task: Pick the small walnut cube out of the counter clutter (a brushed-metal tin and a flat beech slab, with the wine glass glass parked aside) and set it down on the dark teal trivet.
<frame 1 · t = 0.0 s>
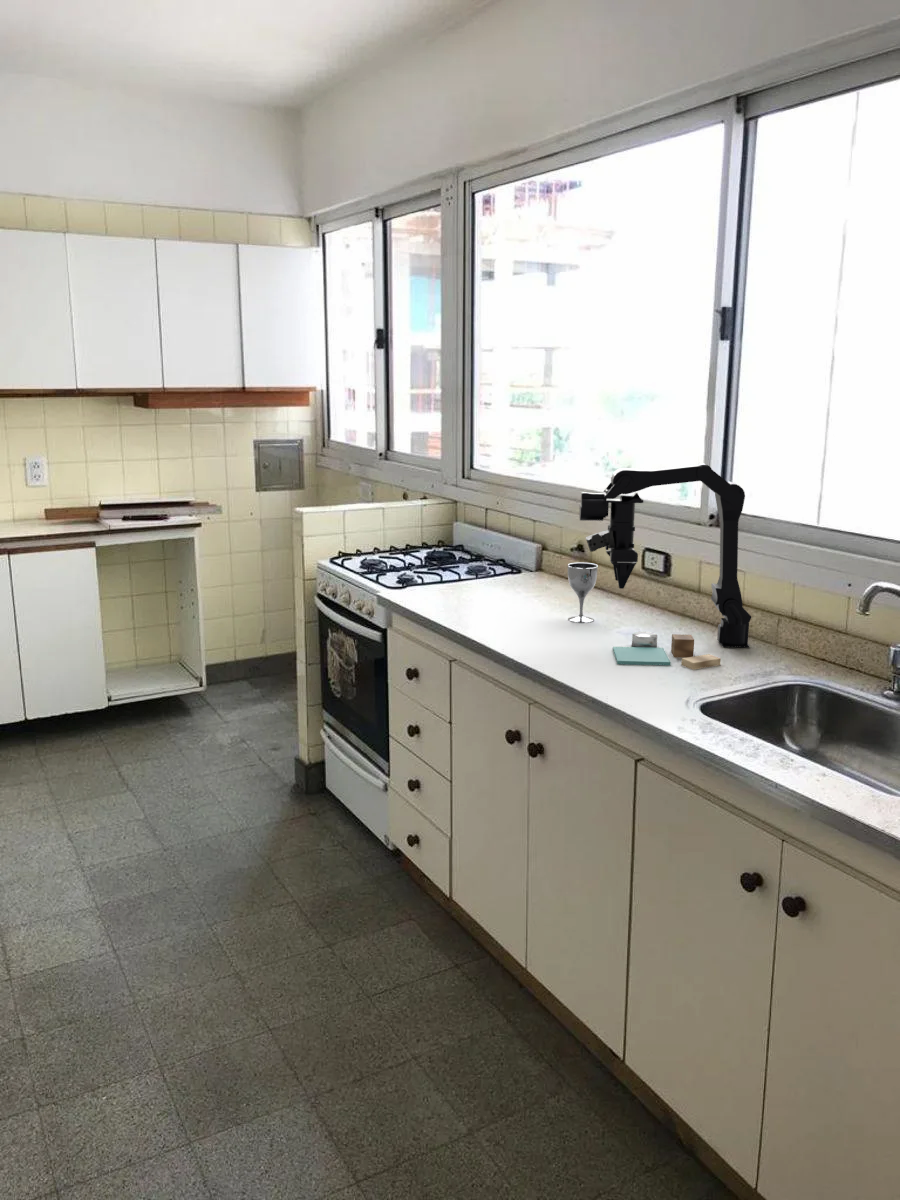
hand: (619, 584, 239), 15 cm above the worktop, fingers open, 9 cm apart
walnut block: (681, 655, 231), on the worktop
beech slab: (700, 666, 223), on the worktop
wine glass: (580, 620, 264), on the worktop
trivet: (640, 657, 229), on the worktop
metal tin: (644, 646, 239), on the worktop
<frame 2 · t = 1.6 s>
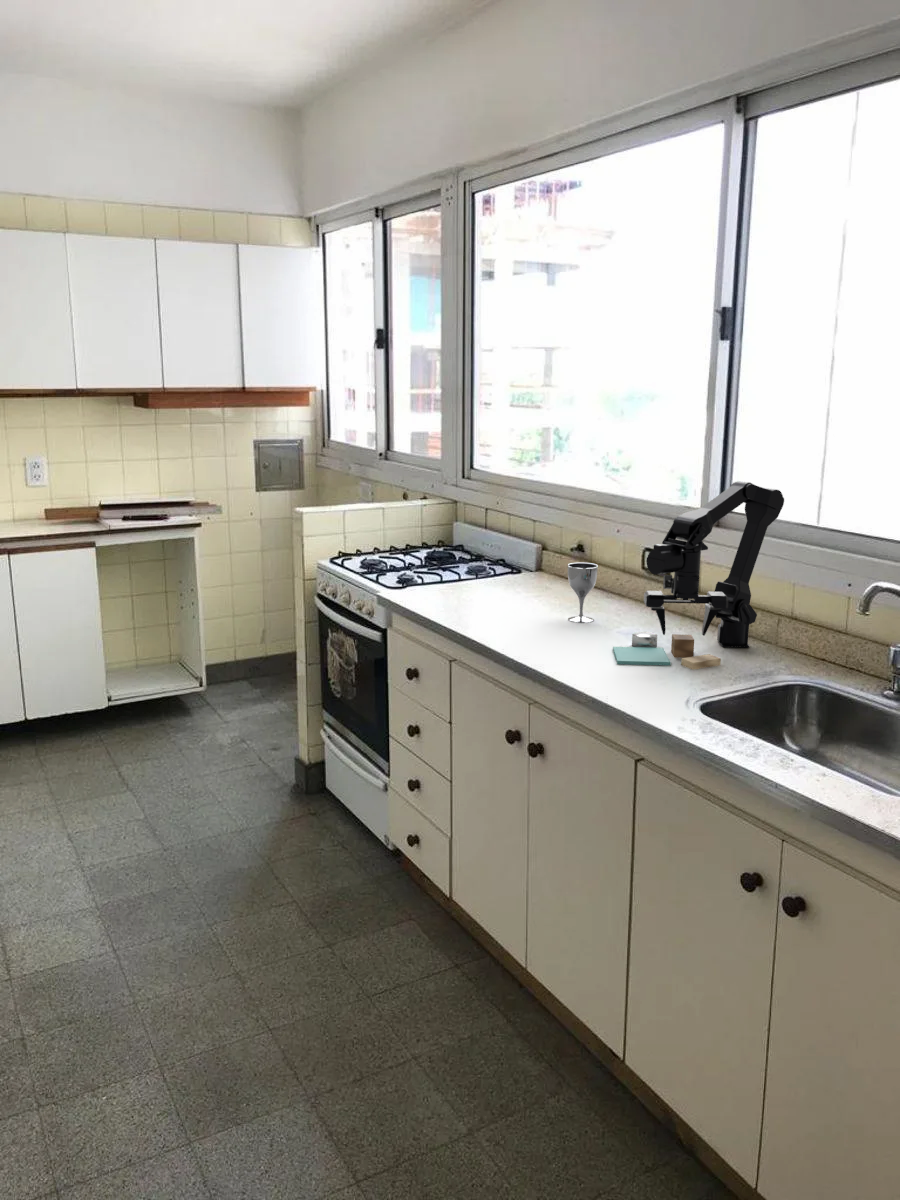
hand: (683, 634, 230), 5 cm above the worktop, fingers open, 9 cm apart
nothing on the worktop moved.
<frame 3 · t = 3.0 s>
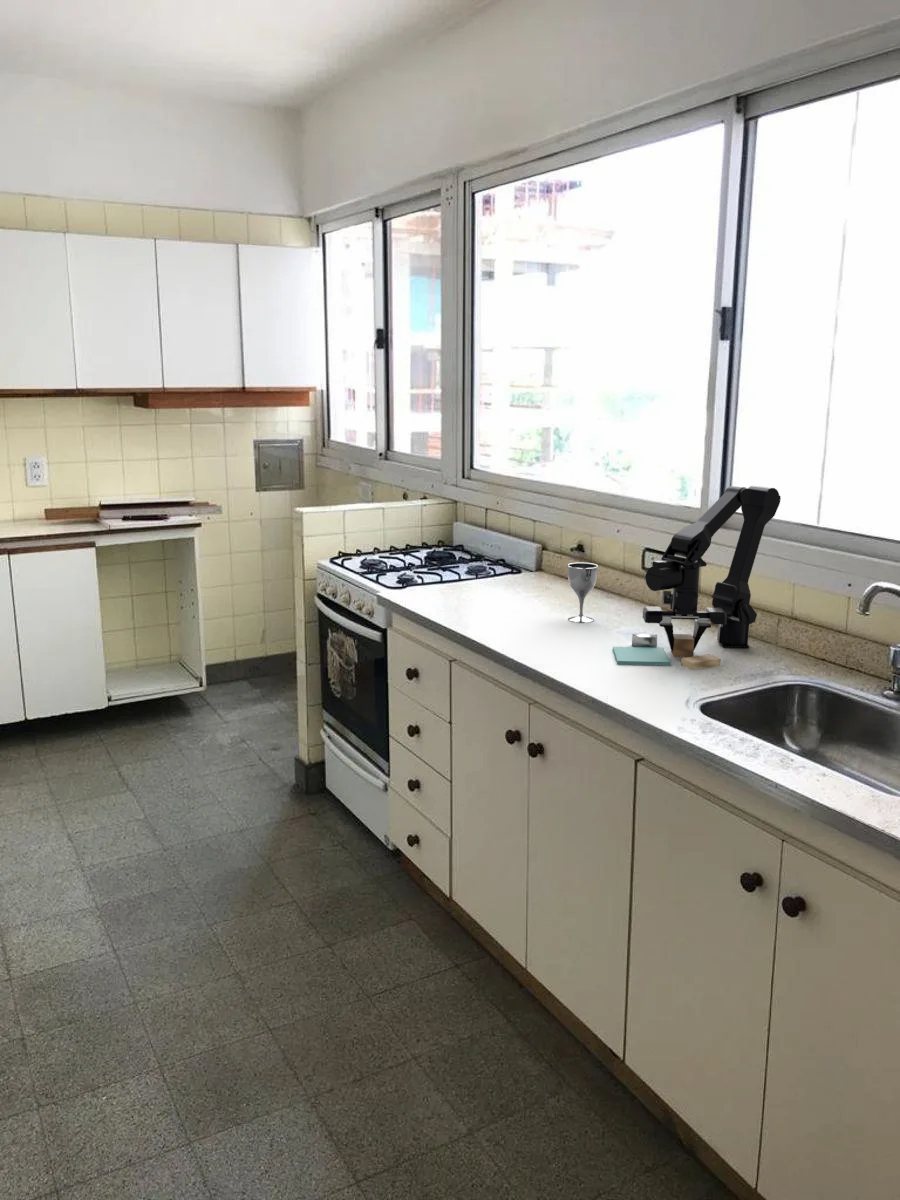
hand: (682, 650, 231), 1 cm above the worktop, fingers closed on walnut block, 4 cm apart
walnut block: (681, 654, 231), on the worktop, touching gripper
everything else where it was.
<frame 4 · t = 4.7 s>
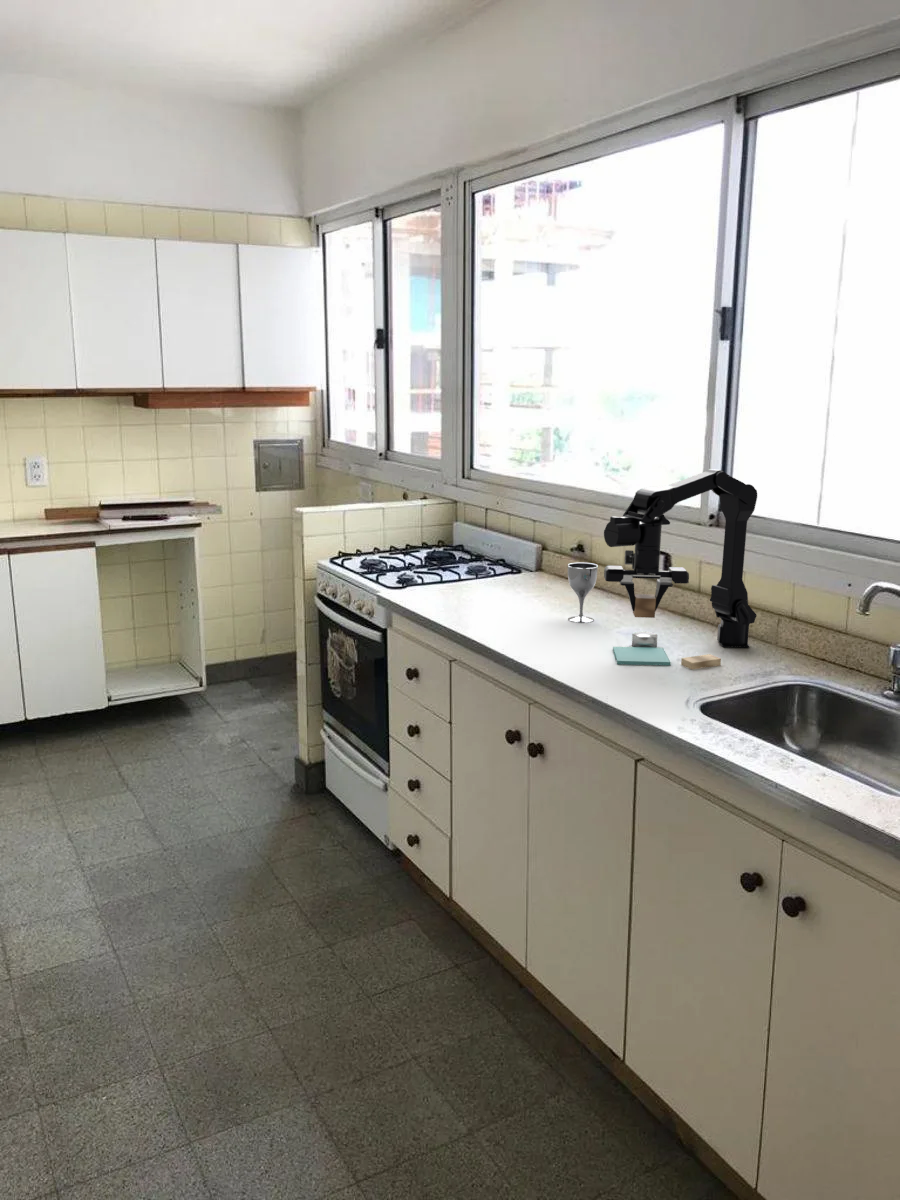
hand: (643, 610, 227), 11 cm above the worktop, fingers closed on walnut block, 4 cm apart
walnut block: (643, 615, 227), point 10 cm above the worktop, touching gripper
everything else where it was.
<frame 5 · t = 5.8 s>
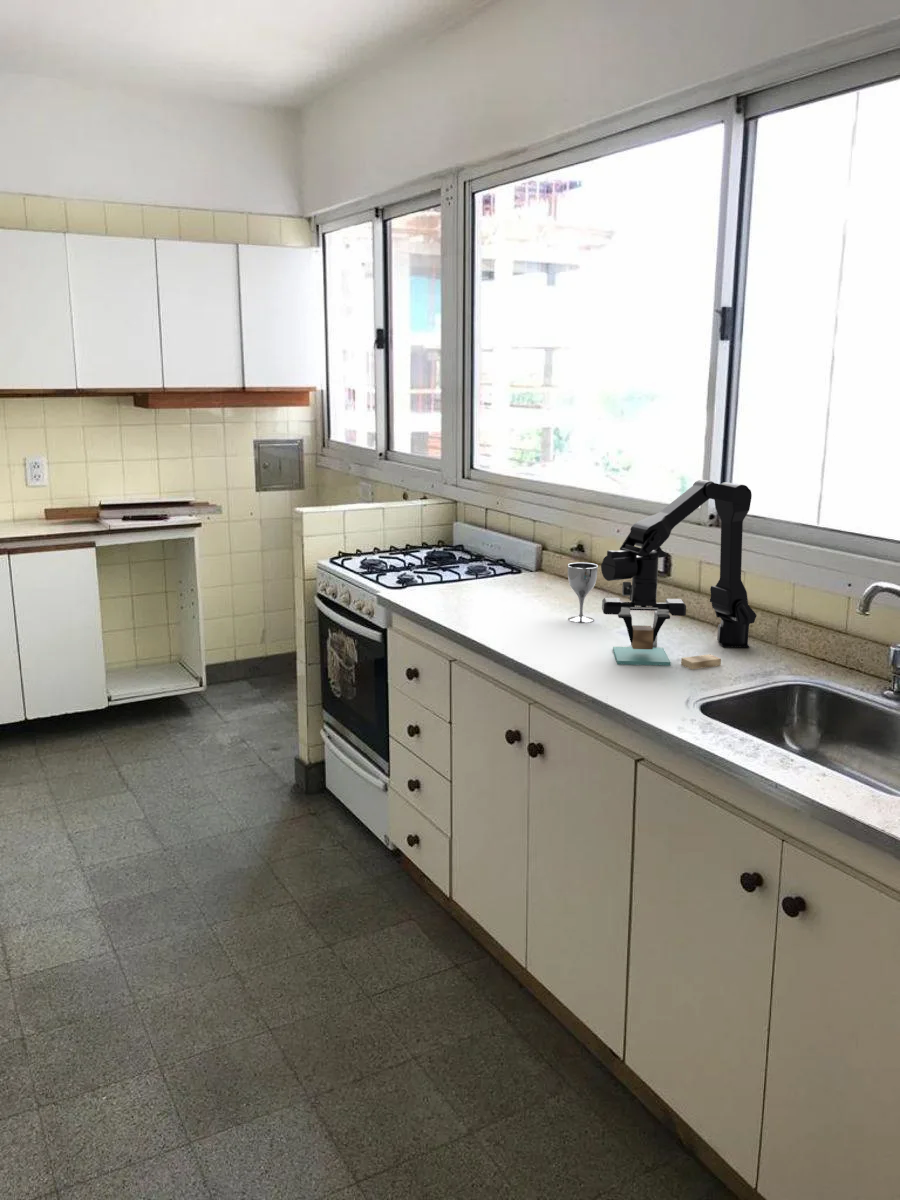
hand: (641, 642, 228), 4 cm above the worktop, fingers closed on walnut block, 4 cm apart
walnut block: (641, 646, 229), point 3 cm above the worktop, touching gripper
everything else where it was.
when the fingers open (3 cm above the worktop, at t = 6.6 s): walnut block drops 1 cm, resting on trivet.
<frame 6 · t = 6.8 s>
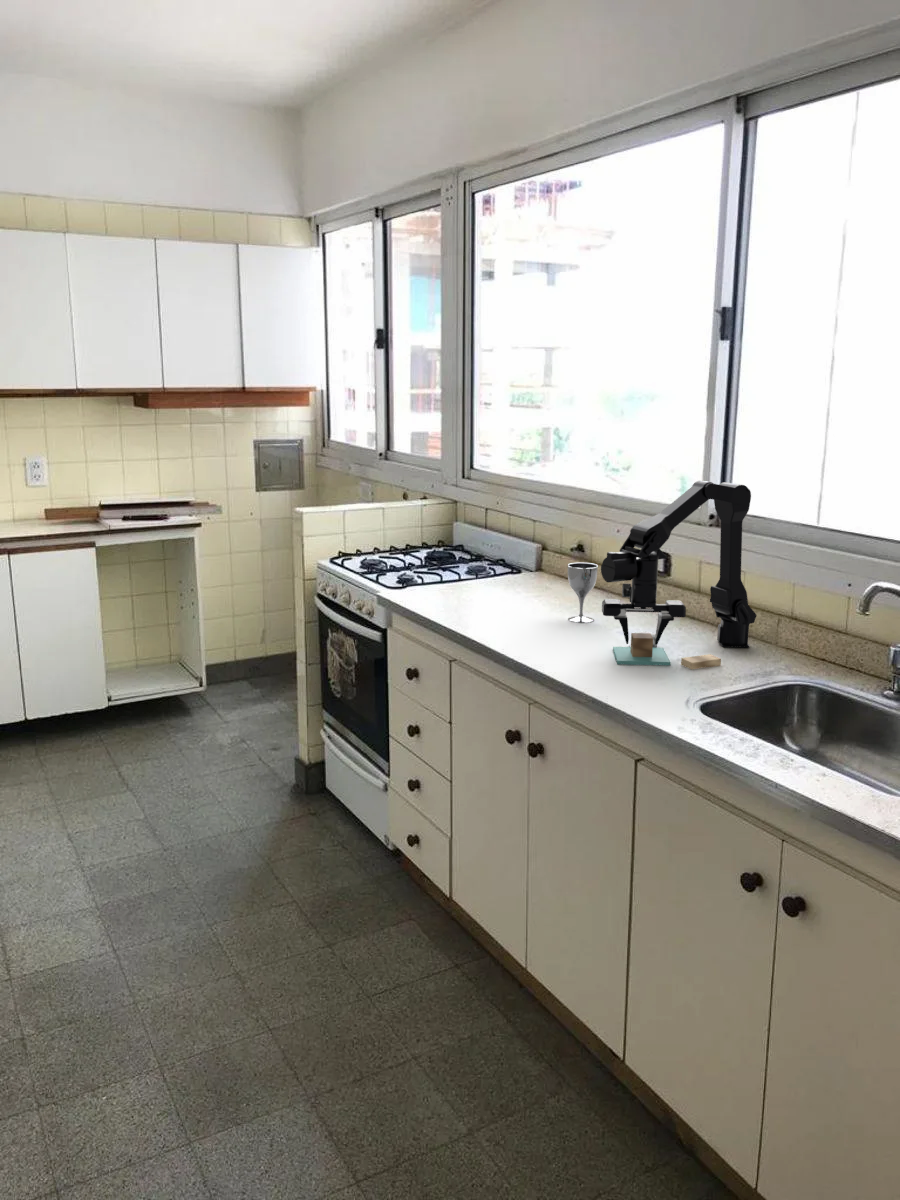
hand: (641, 643, 228), 3 cm above the worktop, fingers open, 6 cm apart
walnut block: (641, 654, 229), point 1 cm above the worktop, touching trivet
everything else where it was.
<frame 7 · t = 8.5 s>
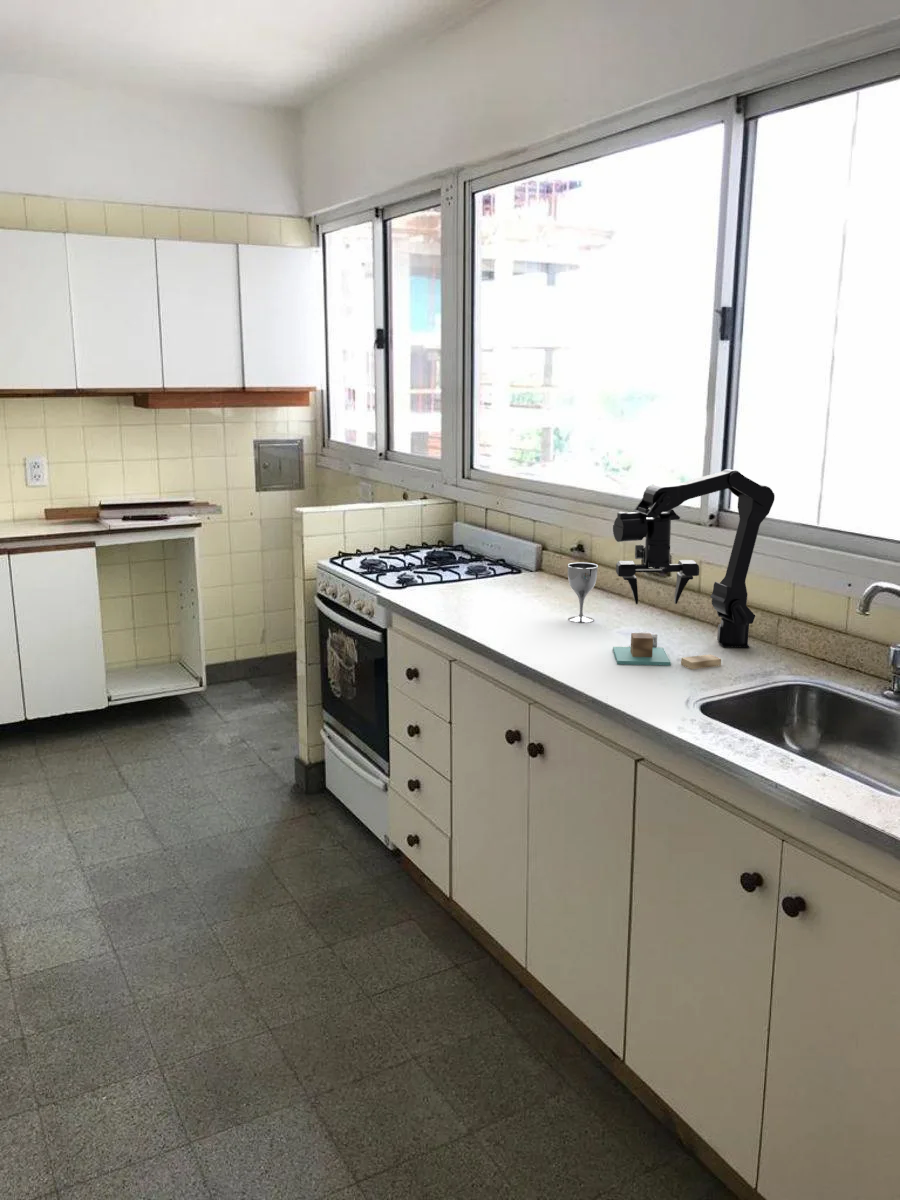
hand: (656, 603, 232), 12 cm above the worktop, fingers open, 9 cm apart
nothing on the worktop moved.
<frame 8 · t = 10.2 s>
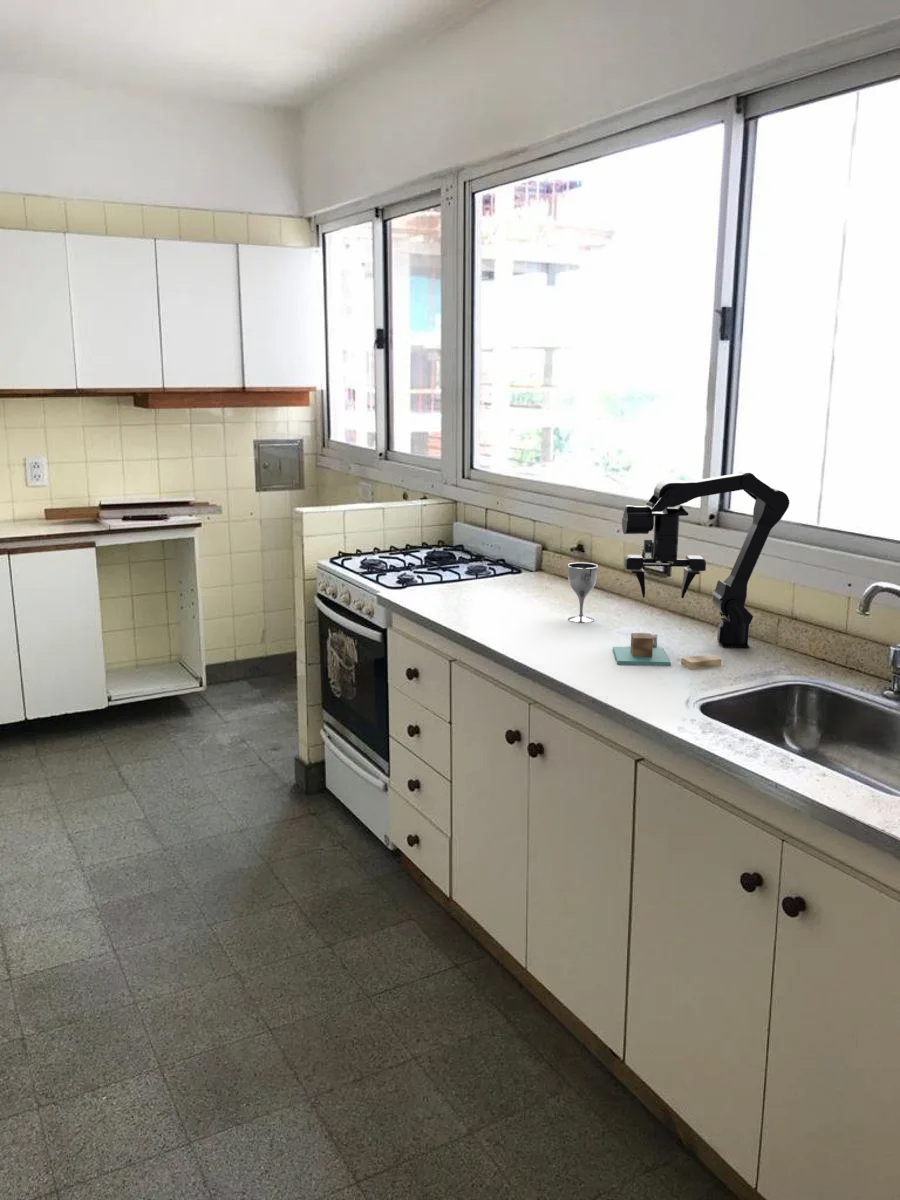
hand: (662, 597, 237), 12 cm above the worktop, fingers open, 9 cm apart
nothing on the worktop moved.
at the end: walnut block inside the target area on the trivet (0.0 cm from its centre), point 0.8 cm above the trivet's base; walnut block tilted 0°; the gripper is holding nothing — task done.
